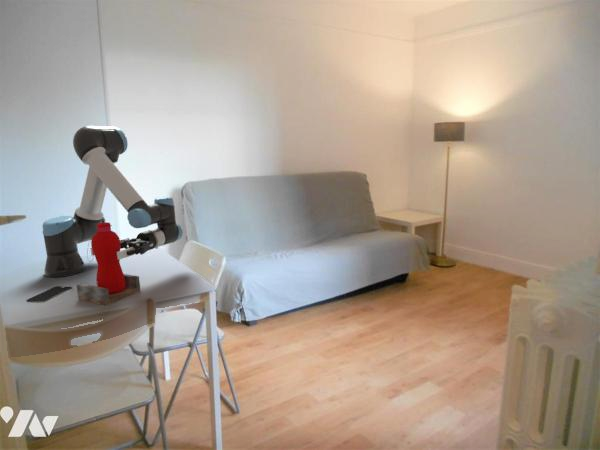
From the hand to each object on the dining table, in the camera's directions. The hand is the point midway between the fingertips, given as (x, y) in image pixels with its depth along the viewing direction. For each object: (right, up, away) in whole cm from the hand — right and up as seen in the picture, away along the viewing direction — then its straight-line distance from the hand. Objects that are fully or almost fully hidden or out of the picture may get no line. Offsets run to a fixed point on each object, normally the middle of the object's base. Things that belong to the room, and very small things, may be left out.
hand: (104, 253), depth 145 cm
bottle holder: (0, -15, +4) cm, 16 cm away
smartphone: (-23, -16, +6) cm, 29 cm away
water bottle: (0, -14, +3) cm, 14 cm away
